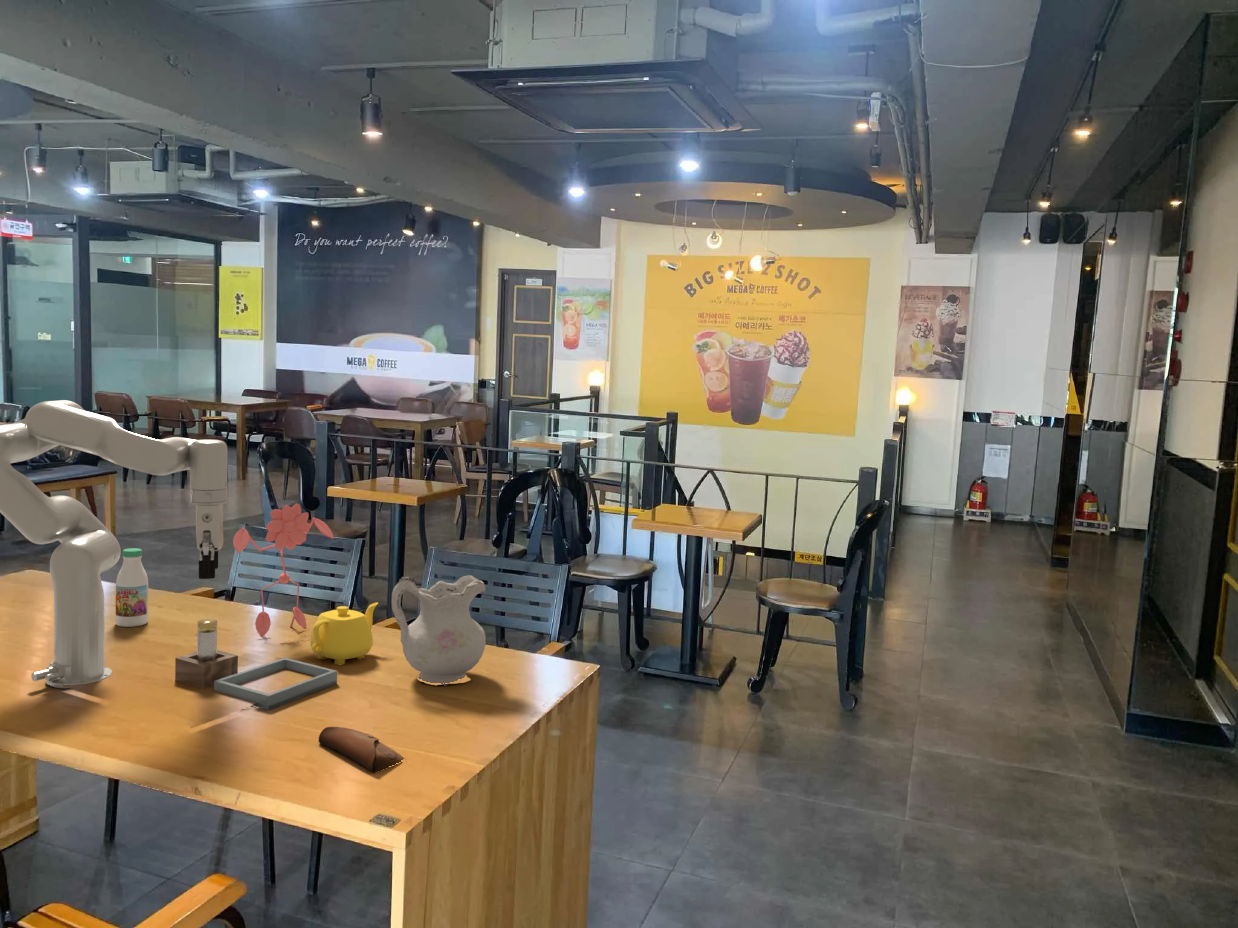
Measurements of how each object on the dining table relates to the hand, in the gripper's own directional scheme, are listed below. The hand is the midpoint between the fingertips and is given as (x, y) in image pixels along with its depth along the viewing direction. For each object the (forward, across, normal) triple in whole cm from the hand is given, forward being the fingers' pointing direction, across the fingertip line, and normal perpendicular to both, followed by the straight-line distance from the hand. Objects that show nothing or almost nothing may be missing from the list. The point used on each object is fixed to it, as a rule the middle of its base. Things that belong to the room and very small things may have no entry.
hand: (208, 573), depth 207 cm
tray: (+25, -7, -14) cm, 30 cm away
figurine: (+25, +34, -16) cm, 45 cm away
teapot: (+25, +14, -30) cm, 42 cm away
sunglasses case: (+26, -45, -30) cm, 60 cm away
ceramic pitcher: (+26, -6, -50) cm, 56 cm away
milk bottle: (+24, +51, +22) cm, 61 cm away
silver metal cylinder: (+24, 0, 0) cm, 24 cm away
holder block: (+25, 0, 0) cm, 25 cm away
